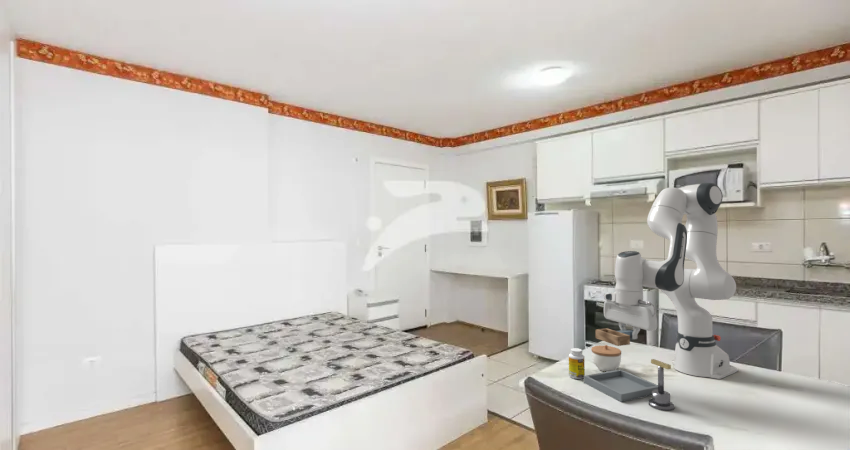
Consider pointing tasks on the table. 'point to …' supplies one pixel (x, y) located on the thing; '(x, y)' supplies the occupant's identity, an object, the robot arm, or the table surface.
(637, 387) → the tray
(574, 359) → the supplement bottle
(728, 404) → the table surface
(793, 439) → the table surface
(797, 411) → the table surface
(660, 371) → the plunger
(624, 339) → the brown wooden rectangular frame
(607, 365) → the lidded jar
